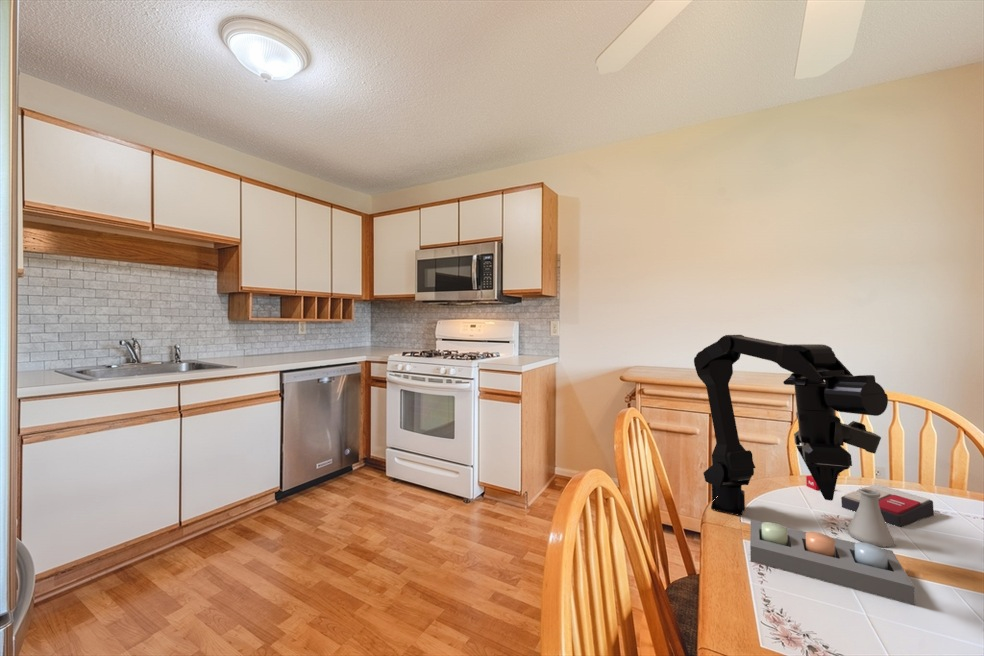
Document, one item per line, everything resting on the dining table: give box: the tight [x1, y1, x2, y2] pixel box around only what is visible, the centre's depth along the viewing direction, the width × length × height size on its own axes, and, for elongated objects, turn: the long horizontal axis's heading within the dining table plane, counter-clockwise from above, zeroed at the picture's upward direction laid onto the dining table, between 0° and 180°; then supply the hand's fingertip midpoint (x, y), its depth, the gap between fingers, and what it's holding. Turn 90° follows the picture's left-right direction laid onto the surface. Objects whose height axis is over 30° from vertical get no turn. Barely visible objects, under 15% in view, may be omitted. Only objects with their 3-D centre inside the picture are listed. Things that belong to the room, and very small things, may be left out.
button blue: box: [855, 541, 888, 570], centre depth 69 cm, size 4×4×3 cm
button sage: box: [762, 521, 788, 546], centre depth 77 cm, size 4×4×3 cm
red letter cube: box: [805, 474, 820, 491], centre depth 108 cm, size 3×3×3 cm
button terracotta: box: [806, 531, 835, 558], centre depth 73 cm, size 4×4×3 cm
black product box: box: [840, 483, 935, 528], centre depth 94 cm, size 11×4×15 cm
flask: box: [846, 488, 897, 548], centre depth 82 cm, size 7×7×10 cm
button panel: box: [749, 519, 916, 606], centre depth 73 cm, size 22×12×3 cm, turn 56°
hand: (824, 492), depth 73 cm, fingers open, 9 cm apart
